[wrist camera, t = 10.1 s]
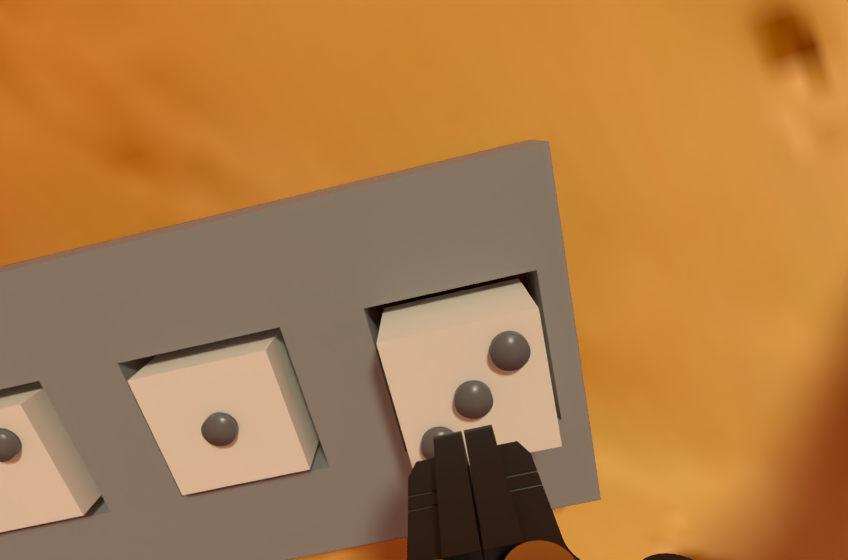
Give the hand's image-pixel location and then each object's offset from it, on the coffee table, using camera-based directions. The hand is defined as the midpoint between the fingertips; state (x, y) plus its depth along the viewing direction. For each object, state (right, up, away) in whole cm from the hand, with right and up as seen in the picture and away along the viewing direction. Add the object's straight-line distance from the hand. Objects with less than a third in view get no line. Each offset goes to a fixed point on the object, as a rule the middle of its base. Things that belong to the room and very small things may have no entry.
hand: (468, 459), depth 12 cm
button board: (-8, 0, +8) cm, 11 cm away
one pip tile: (-8, 0, +8) cm, 11 cm away
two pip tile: (-17, -2, +8) cm, 19 cm away
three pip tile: (0, +2, +6) cm, 6 cm away
